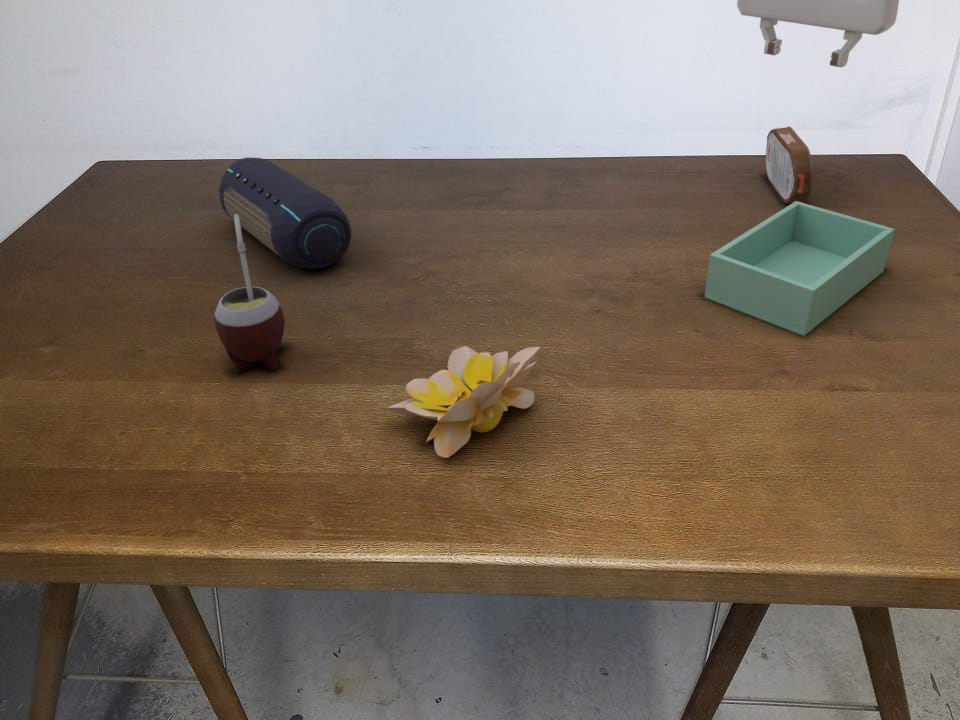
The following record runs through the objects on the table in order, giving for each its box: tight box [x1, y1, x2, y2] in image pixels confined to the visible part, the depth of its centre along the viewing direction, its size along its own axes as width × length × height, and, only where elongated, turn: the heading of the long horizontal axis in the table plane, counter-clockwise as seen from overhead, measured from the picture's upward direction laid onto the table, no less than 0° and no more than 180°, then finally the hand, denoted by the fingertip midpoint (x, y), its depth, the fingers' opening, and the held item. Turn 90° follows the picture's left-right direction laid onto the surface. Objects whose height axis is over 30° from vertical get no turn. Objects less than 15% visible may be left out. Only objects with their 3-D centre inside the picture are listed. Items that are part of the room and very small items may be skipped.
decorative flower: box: [383, 345, 541, 459], centre depth 77 cm, size 15×11×10 cm
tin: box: [764, 126, 814, 205], centre depth 118 cm, size 15×3×8 cm, turn 179°
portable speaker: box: [218, 157, 352, 270], centre depth 110 cm, size 25×10×10 cm, turn 37°
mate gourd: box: [214, 214, 286, 375], centre depth 86 cm, size 8×8×15 cm
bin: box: [704, 201, 895, 336], centre depth 96 cm, size 20×13×6 cm, turn 134°
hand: (803, 59), depth 108 cm, fingers open, 8 cm apart
